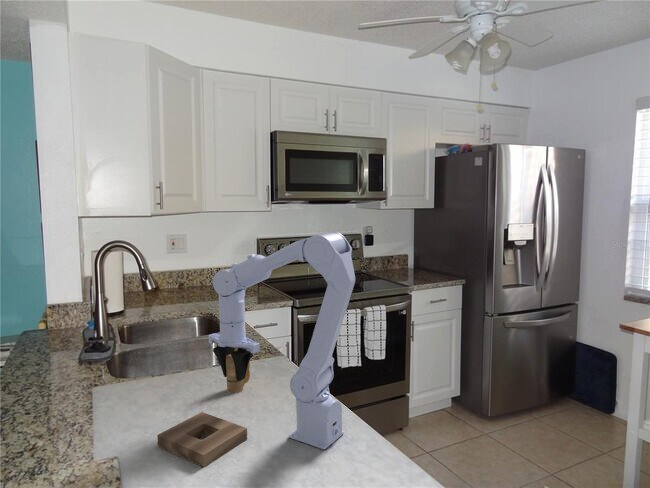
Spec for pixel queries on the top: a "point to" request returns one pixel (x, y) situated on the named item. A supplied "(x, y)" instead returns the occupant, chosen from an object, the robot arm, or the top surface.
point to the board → (209, 449)
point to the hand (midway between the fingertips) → (234, 377)
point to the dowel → (232, 376)
